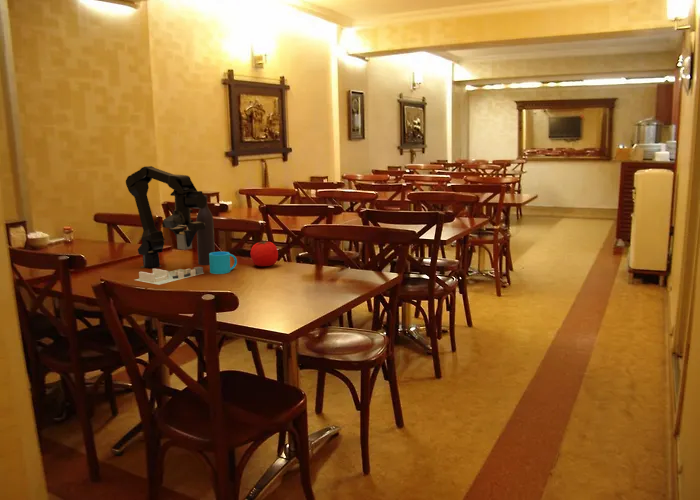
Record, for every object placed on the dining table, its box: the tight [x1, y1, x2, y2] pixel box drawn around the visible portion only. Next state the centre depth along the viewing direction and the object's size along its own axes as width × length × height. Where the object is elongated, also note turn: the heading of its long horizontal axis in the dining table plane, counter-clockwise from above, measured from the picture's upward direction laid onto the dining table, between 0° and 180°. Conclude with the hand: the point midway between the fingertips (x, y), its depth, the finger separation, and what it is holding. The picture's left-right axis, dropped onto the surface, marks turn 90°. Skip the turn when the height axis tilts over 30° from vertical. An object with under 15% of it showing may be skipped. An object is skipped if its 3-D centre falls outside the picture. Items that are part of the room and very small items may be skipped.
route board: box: [134, 268, 204, 286], centre depth 232 cm, size 14×23×1 cm, turn 148°
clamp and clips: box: [175, 266, 204, 280], centre depth 233 cm, size 4×12×2 cm, turn 148°
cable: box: [173, 273, 190, 279], centre depth 232 cm, size 2×10×1 cm, turn 148°
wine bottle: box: [195, 194, 216, 266], centre depth 254 cm, size 7×7×30 cm
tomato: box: [249, 240, 279, 267], centre depth 253 cm, size 12×12×11 cm
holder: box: [138, 268, 169, 282], centre depth 227 cm, size 9×7×3 cm
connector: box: [176, 231, 193, 251], centre depth 238 cm, size 4×4×7 cm
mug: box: [209, 251, 238, 275], centre depth 241 cm, size 12×8×8 cm
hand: (184, 246), depth 239 cm, fingers closed on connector, 4 cm apart
